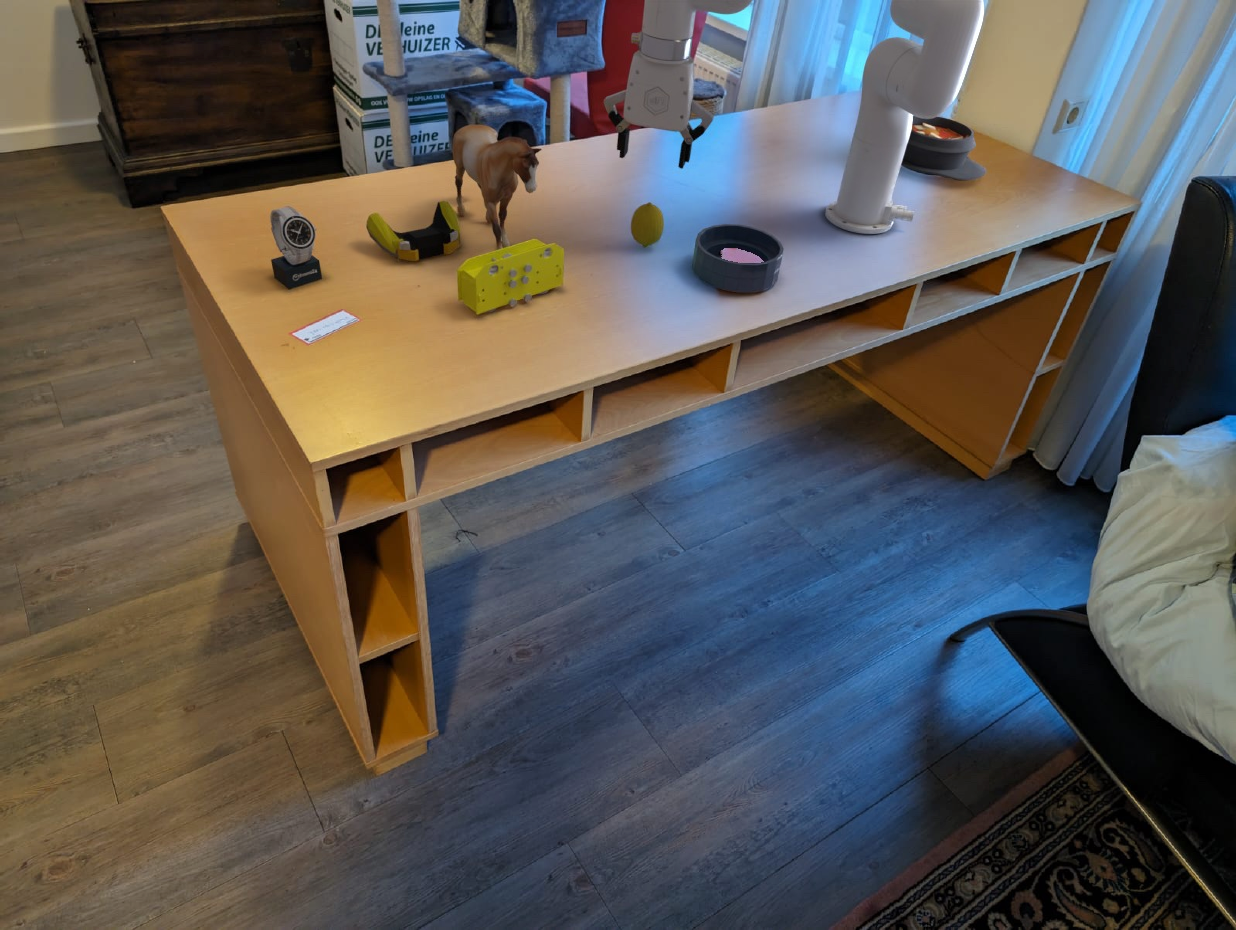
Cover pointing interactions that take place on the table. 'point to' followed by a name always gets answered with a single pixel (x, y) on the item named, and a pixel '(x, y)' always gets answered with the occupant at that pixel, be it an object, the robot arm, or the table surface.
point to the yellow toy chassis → (510, 275)
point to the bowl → (734, 273)
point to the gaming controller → (418, 236)
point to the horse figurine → (493, 170)
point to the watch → (294, 248)
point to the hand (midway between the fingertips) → (652, 160)
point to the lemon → (647, 224)
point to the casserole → (941, 149)
